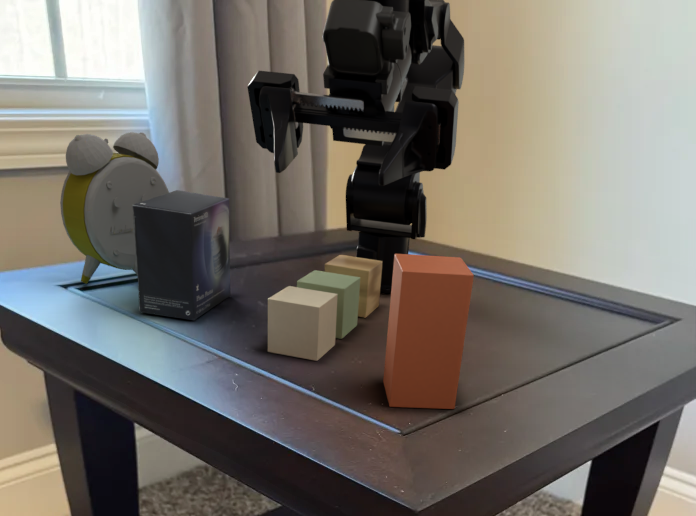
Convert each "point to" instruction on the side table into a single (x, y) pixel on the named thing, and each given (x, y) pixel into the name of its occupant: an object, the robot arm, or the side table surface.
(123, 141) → the alarm clock
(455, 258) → the tall block
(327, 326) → the cube
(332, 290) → the cube
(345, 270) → the cube
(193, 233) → the small box
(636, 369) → the side table surface
